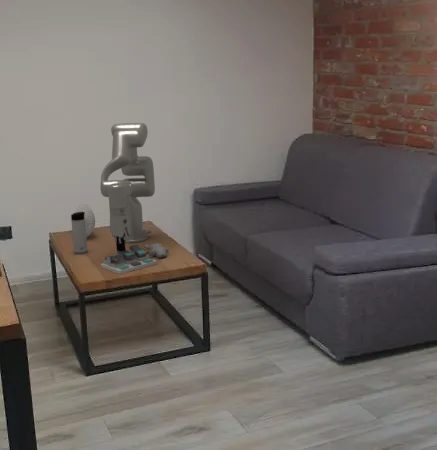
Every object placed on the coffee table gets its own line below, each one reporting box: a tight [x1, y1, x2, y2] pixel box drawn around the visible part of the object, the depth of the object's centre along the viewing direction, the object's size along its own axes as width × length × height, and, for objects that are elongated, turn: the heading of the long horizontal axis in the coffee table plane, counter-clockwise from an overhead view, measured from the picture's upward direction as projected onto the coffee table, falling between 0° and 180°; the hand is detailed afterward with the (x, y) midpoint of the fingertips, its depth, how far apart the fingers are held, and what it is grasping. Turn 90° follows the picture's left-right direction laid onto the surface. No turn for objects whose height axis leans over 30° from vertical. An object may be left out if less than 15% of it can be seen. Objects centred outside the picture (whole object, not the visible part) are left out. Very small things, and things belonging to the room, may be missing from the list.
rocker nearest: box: [128, 244, 148, 258], centre depth 315 cm, size 4×8×2 cm, turn 41°
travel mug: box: [70, 211, 88, 255], centre depth 332 cm, size 6×7×20 cm
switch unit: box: [100, 248, 158, 275], centre depth 310 cm, size 20×15×5 cm
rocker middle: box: [116, 248, 135, 259], centre depth 311 cm, size 4×8×2 cm, turn 41°
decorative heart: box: [74, 202, 96, 240], centre depth 360 cm, size 18×11×17 cm, turn 15°
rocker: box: [104, 253, 122, 261], centre depth 307 cm, size 4×8×2 cm, turn 41°
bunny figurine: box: [142, 242, 169, 259], centre depth 326 cm, size 10×5×15 cm
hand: (121, 250), depth 313 cm, fingers closed
